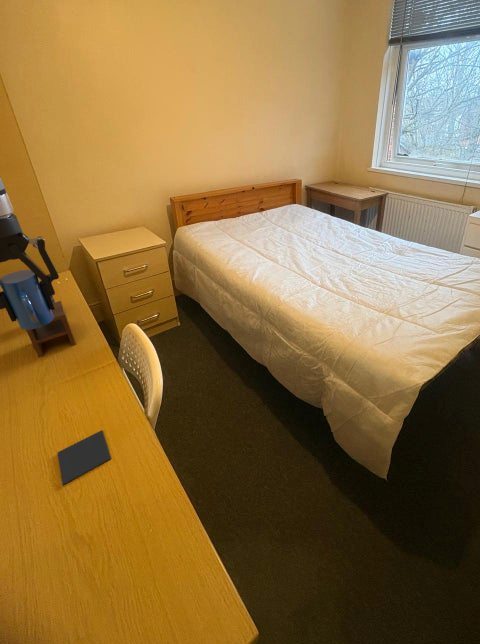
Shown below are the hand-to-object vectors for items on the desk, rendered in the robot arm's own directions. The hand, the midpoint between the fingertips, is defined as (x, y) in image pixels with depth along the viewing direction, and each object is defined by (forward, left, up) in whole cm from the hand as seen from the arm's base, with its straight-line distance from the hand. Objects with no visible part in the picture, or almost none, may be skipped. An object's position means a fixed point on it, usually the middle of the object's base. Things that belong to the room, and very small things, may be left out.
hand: (33, 312), depth 74 cm
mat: (+14, -16, -27) cm, 35 cm away
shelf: (-19, +21, -27) cm, 40 cm away
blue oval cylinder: (+1, -1, -2) cm, 3 cm away
